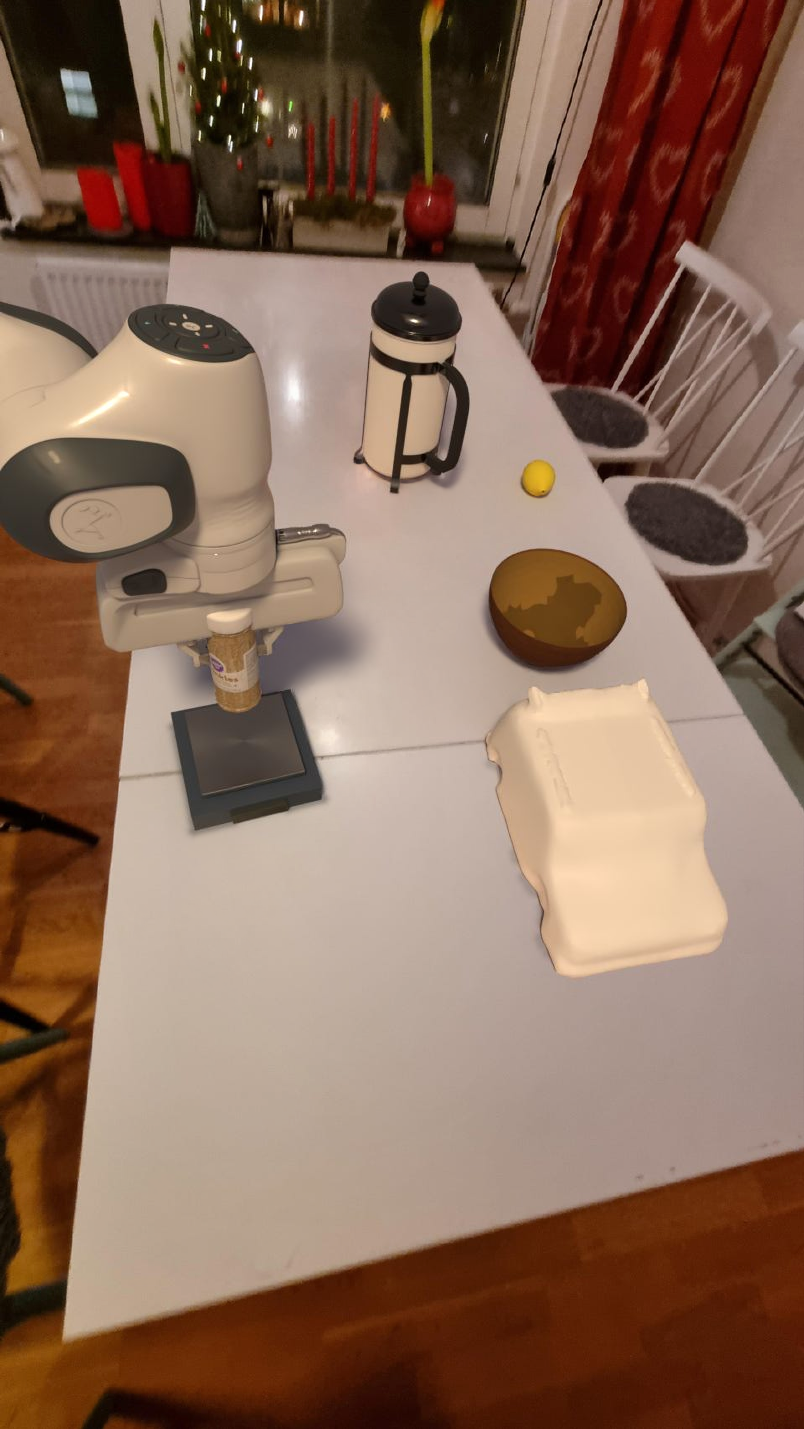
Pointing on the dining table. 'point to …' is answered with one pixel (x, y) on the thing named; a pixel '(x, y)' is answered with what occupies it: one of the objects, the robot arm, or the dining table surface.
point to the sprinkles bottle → (234, 659)
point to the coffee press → (412, 381)
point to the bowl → (555, 607)
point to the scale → (250, 799)
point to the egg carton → (607, 829)
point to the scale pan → (243, 746)
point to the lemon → (538, 477)
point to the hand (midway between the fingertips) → (232, 655)
